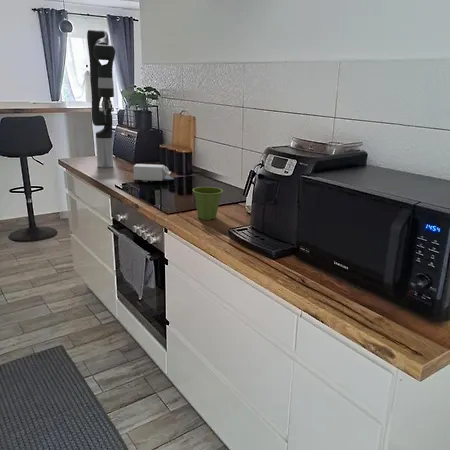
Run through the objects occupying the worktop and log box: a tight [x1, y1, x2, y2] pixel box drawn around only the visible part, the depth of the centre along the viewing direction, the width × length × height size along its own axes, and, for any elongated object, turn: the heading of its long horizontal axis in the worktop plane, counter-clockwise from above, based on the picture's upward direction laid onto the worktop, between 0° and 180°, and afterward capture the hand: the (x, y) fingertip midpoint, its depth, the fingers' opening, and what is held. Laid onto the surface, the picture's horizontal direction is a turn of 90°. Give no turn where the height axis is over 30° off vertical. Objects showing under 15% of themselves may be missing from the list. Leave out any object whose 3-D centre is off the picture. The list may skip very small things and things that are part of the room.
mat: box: [141, 175, 175, 183], centre depth 240 cm, size 15×17×1 cm
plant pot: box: [192, 186, 224, 221], centre depth 173 cm, size 12×12×11 cm
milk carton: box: [133, 163, 172, 182], centre depth 233 cm, size 7×7×19 cm
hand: (107, 122), depth 229 cm, fingers closed
